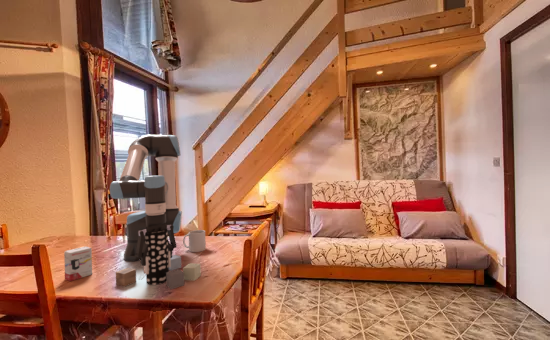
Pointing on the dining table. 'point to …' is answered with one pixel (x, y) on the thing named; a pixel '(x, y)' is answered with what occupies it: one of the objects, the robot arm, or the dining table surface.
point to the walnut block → (125, 277)
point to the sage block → (192, 271)
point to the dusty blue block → (175, 262)
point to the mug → (196, 241)
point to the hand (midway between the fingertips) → (157, 269)
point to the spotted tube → (157, 257)
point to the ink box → (78, 263)
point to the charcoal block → (175, 278)
